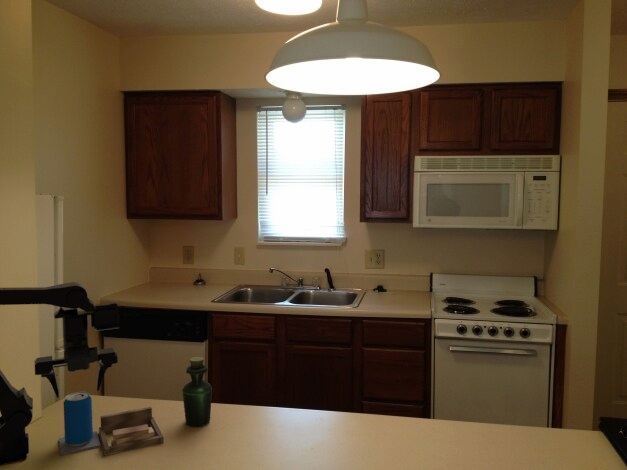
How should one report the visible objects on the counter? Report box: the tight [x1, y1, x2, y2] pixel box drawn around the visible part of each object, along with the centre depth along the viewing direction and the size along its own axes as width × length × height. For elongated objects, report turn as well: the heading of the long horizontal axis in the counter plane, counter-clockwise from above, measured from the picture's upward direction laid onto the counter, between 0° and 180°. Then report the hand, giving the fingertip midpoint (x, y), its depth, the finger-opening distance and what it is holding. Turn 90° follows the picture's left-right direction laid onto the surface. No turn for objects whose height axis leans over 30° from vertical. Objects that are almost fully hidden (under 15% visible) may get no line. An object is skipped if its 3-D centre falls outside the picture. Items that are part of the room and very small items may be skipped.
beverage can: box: [63, 391, 94, 446], centre depth 131 cm, size 6×6×12 cm
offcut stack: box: [110, 425, 156, 446], centre depth 132 cm, size 10×4×4 cm, turn 118°
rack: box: [98, 406, 165, 456], centre depth 135 cm, size 14×14×4 cm
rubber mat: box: [58, 430, 102, 456], centre depth 132 cm, size 9×9×1 cm
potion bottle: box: [181, 356, 213, 428], centre depth 144 cm, size 8×8×18 cm
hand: (78, 393), depth 131 cm, fingers open, 9 cm apart
